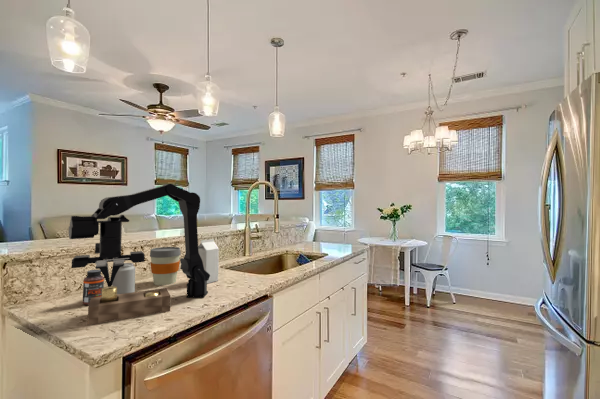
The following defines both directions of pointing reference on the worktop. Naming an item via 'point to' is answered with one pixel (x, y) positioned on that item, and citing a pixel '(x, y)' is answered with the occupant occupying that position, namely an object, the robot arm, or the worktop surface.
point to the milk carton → (209, 258)
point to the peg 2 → (151, 294)
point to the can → (125, 279)
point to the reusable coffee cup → (165, 264)
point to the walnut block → (128, 306)
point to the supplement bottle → (92, 285)
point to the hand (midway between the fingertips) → (109, 286)
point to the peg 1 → (109, 294)
